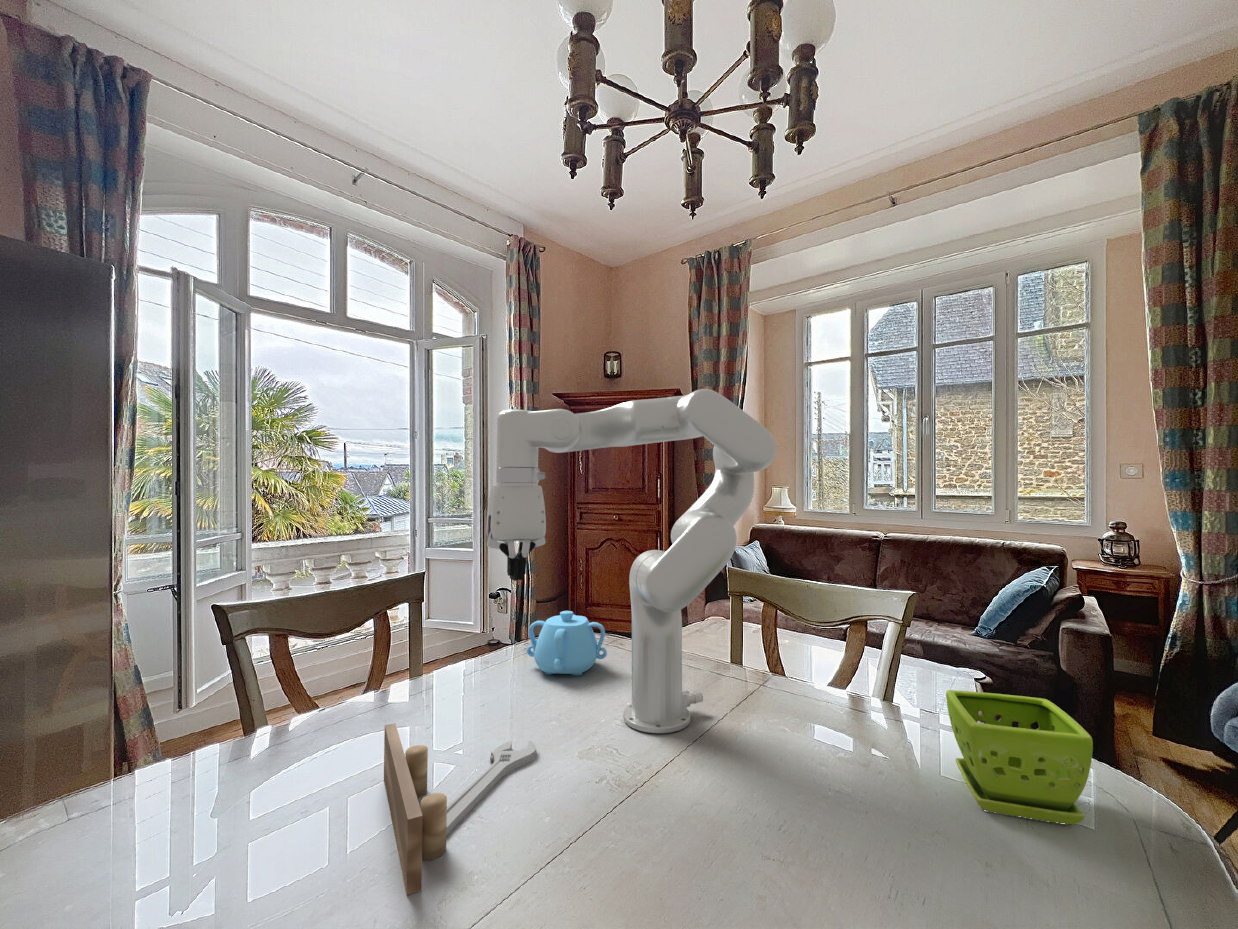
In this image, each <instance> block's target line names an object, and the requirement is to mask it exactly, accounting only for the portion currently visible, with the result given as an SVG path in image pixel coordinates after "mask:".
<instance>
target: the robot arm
mask: <svg viewBox="0 0 1238 929" xmlns="http://www.w3.org/2000/svg"><path fill="white" fill-rule="evenodd" d="M496 417H497V418H496V464H495V465H496V468H495V470H496V473H495V475H496V476H495V477H496V478H495V481H496V482H495V485H491V487H490V491H489V492H490V493H489V497H488V503H487V514H486V523H485V524H486V526H485V527H486V531H485V532H486V537H487V541H486V547H488V548H490V549H495V550H500V551H501V553H503V554H504V555H505V556H506V559H507V560H506V561H507V562H506V563H507V565H506V566H507V567H506V568H507V569H506V570H507V576H509V579H510V580H512V581H513V582H514V581H515V582H516V581H517V582H518V581H524V575H526V573H527V558H528V556H529V555H530V554H531V552H532V551H533V549H534V548H538V547H541V546H544V545H545V544H547V542H546V537H545V536H546V532H547V518H546V507H545V499H544V493H543V492H544V491H543V487H542V486H541V485H539V483H540V481H541V480H545V479H546V471H545V472H544V471H540V468H539V448H543V449H545V450H546V451H548V452H551V453H557V454H559V453H560V454H561V453H569V452H578V451H579V452H580V451H586V450H587V451H589V450H594V449H595V450H596V449H603V448H614V447H616V448H617V447H618V448H620V447H621V448H623V447H630V446H638V445H639V446H640V445H648V444H654V443H656V444H657V443H664V442H665V443H666V442H672V441H673V442H674V441H683V440H690V439H696V438H697V439H698V438H701V437H704V438H705V439H706V440H707V441H708V442H710V443H711V444H712V446H713V448H712V449H713V450H712V458H713V463H714V475H713V479H712V482H711V483H710V485H709V486H708V487H707V488H706V489H705V491H704V492H703V493H702V495H700V497H698V499H697V500H696V501H694V503H693V504H691V506H690V507H689V508H688V509H687V510H686V511H685V512H684V513H683V514H682V515H681V516H680V517H679V518H678V519H677V520H676V521H675V523H674V524H673V526H672V528H671V530H670V540H671V543H672V545H671V546H670V547H669V548H667V550H666V551H664V550H659V549H651V550H646V551H644V552H642V553H641V554H639V555H638V556H637V557H636V558H635V559H634V561H633V563H632V565H631V567H630V571H629V578H628V579H629V580H628V581H629V583H628V585H629V593H630V594H629V595H630V604H631V605H630V606H631V704H629V705H628V706H626V707H625V708H624V710H623V721H624V723H625V724H626V725H627V726H629V727H630V728H632V729H634V730H637V731H640V732H643V733H649V734H669V733H675V732H678V731H681V730H683V729H685V728H686V727H688V726H689V725H690V722H691V713H690V711H689V709H688V708H689V707H691V705H693V704H699V703H702V702H703V701H704V696H703V694H702V692H701V691H695V692H692V693H690V690H688V689H684V690H683V622H682V621H683V620H682V619H683V618H682V616H683V615H682V610H683V609H684V608H686V607H688V605H690V604H691V603H692V602H693V601H694V600H695V599H696V598H697V597H698V596H699V595H700V594H701V593H702V592H703V591H704V590H705V589H706V588H707V586H708V585H710V583H711V582H712V581H713V579H715V578H716V577H717V575H718V574H719V573H720V572H721V571H722V570H723V569H724V568H725V567H726V565H727V564H728V563H729V562H730V560H731V559H732V557H733V555H734V553H735V552H736V551H735V550H736V547H737V540H738V537H737V532H736V529H735V525H737V524H736V523H737V522H738V521H739V520H740V519H741V518H742V516H743V515H744V514H745V513H746V511H747V510H748V508H750V504H751V503H752V500H753V497H754V492H755V473H756V472H761V471H763V470H765V469H767V468H768V467H769V466H770V465H771V464H772V463H773V462H774V460H775V458H776V455H777V444H776V441H775V438H774V436H773V434H772V433H771V432H770V431H769V429H767V427H765V426H764V425H762V424H761V423H760V422H759V421H757V420H756V419H755V418H753V417H752V416H750V414H748V413H747V412H746V411H744V410H743V409H741V408H740V407H739V406H738V405H737V404H735V403H734V402H732V401H731V400H730V399H728V398H727V397H725V396H724V395H723V394H721V393H719V392H717V391H715V390H714V389H709V388H701V389H696V390H694V391H692V392H691V393H689V394H685V395H675V396H667V397H657V398H648V399H647V398H645V399H637V400H636V399H635V400H629V401H626V402H621V403H618V404H616V405H613V406H611V407H607V408H603V409H600V410H599V409H598V410H595V411H588V412H579V413H574V412H572V411H570V410H568V409H564V408H555V409H546V410H534V411H533V410H532V411H531V410H527V409H505V410H502V411H500V412H499V413H498V414H497V416H496ZM517 541H518V548H517V553H516V547H515V542H517Z"/></svg>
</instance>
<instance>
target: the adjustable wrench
mask: <svg viewBox="0 0 1238 929" xmlns="http://www.w3.org/2000/svg"><path fill="white" fill-rule="evenodd" d="M512 746H513V745H512V741H507V742H505V743H502V744H500V745H499V746H497V747H496V748H495V749H494V750H493V751H490V755H489V756H490V757H489V762H492V765H490V766H489V767H488V768H487V769H486V770H485V771H484V772H483V773H482V774H481V775H480V776H479V777H478V778H476V779H475V780H474V781H473V782H472V783H471V784H470V785H469V786H468V787H467V788H465V790H463V792H462V793H461V794H459V795H458V796H457V797H456V798H455V799H454V800H452V802H451V803H450V804H448V805H447V825H446V837H448V835H449V834H450V833H451V832H452V831H453V829H454V828H455V827H456V826H457V825H459V823H460V822H461V821H462V820H463V819H464V818H465V817H466V816H467V815H468V814H469V813H470V812H471V810H473V808H475V807H476V805H477V804H478V803H479V802H480V801H481V800H482V799H483V798H484V797H485V796H486V795H487V793H488V792H489V791H491V789H493V787H494V786H495V785H496V784H497V783H499V781H500V780H502V778H503V777H505V775H507V774H508V773H510V772H512V771H513V770H515V769H517V768H518V767H521V766H523V765H527V764H528V763H530V762H532V761H533V760H534V759H535V758H536V756H537V745H536V743H535V742H534V741H531V740H528V742H527V747H525V748H523V749H519V750H512Z"/></svg>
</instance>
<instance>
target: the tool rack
mask: <svg viewBox="0 0 1238 929" xmlns="http://www.w3.org/2000/svg"><path fill="white" fill-rule="evenodd" d="M397 727H398V726H397V723H396V722H393V723H390V724H389V723H388V724H384V736H383V737H384V746H383V753H384V754H383V782H384V787H385V792H386V797H387V802H388V807H389V813H390V818H391V821H392V827H393V828H392V829H393V833H394V837H395V843H396V848H397V853H398V858H399V862H400V864H399V865H400V869H401V873H402V878H403V883H404V889H405V894H406V896H409V895H412V894H415V893H419V892H421V891H422V880H423V879H422V875H423V874H422V872H423V870H422V868H423V867H422V866H423V865H422V864H423V863H422V862H423V859H424V860H435V859H438V858H440V857H442V856H443V855H444V854H445V853H446V851H447V836H446V825H447V807H448V798H447V794H444V793H440V792H435V793H430V794H428V795H426V794H427V792H428V763H429V762H428V755H429V754H428V752H429V751H428V750H429V749H428V748H429V747H428V746H427V745H423V744H418V745H413V746H412V745H411V747H409V748H407V749H406V750H405V751H404V749H403V748H404V747H403V744H402V740H401V738H400V737H401V736H400V734H399V731H398V728H397ZM425 795H426V796H425ZM421 797H423V798H422V799H421V801H420V802H419V799H420V798H421Z"/></svg>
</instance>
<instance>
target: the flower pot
mask: <svg viewBox="0 0 1238 929" xmlns="http://www.w3.org/2000/svg"><path fill="white" fill-rule="evenodd" d="M945 696H946V707H947V713H948V717H949V721H950V725H951V729H952V731H953V735H954V738H955V740H956V743H957V745H958V746H957V747H958V748H959V751H960V754H961V755H962V757H963V758H961V757H955V763H956V766H957V768H958V770H959V771H960V774H961V775H962V777H963V779H964V781H965V784H966V785H967V787H968V789H969V790H970V792H971V794H972V796H973V797H974V799H975V801H976V803H977V805H978V806H979V807H980V808H982V809H983V810H986V811H990V812H989V813H992V812H996V813H995V814H997V813H1000V814H999V815H1003V814H1006V815H1005V816H1008V815H1012V816H1011V817H1014V816H1021V817H1026V818H1032V819H1037V820H1036V821H1038V820H1043V821H1042V822H1044V821H1049V822H1048V823H1050V822H1058V823H1065V824H1070V825H1069V826H1072V825H1076V824H1078V823H1081V822H1082V821H1084V819H1085V815H1084V814H1083V812H1082V811H1081V809H1080V808H1079V807H1078V806H1077V805H1076V802H1077V801H1078V800H1079V798H1080V796H1081V794H1082V793H1083V791H1084V789H1085V787H1086V784H1087V781H1088V778H1089V775H1090V770H1091V767H1092V760H1093V752H1094V751H1093V750H1094V746H1093V745H1094V742H1093V738H1092V736H1091V734H1089V732H1088V731H1086V729H1084V728H1083V726H1081V724H1079V723H1078V722H1077V720H1075V719H1074V718H1073V717H1072V716H1070V715H1069V714H1068V713H1067V712H1065V711H1064V710H1062V709H1061V708H1060V707H1059V706H1057V705H1056V704H1055V703H1053V702H1052V701H1051V700H1048V699H1046V698H1042V697H1031V696H1023V695H1013V694H1012V695H1011V694H1006V693H1005V694H1002V693H992V692H983V691H982V692H979V691H971V690H969V691H968V690H953V689H948V690H946V693H945ZM979 712H982V713H981V714H979ZM997 716H1000V718H999V719H998V720H997V718H996V717H997ZM978 721H980V722H978ZM1015 722H1018V727H1017V726H1016V727H1013V723H1015ZM1034 723H1037V724H1038V728H1036V729H1034V728H1032V725H1033V724H1034ZM982 809H981V810H982ZM983 810H982V811H983ZM1026 818H1025V819H1026ZM1032 819H1031V820H1032ZM1071 824H1072V825H1071Z"/></svg>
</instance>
